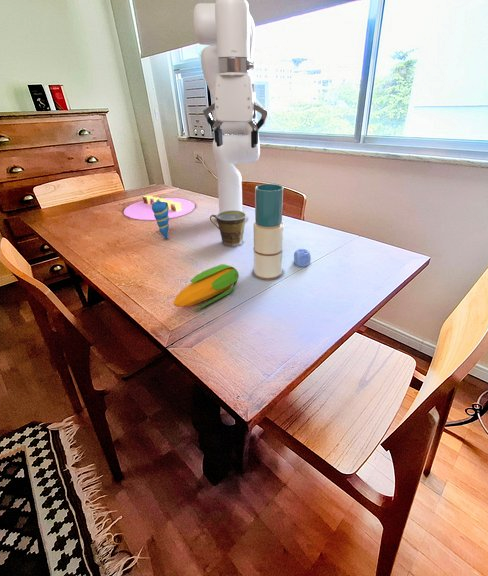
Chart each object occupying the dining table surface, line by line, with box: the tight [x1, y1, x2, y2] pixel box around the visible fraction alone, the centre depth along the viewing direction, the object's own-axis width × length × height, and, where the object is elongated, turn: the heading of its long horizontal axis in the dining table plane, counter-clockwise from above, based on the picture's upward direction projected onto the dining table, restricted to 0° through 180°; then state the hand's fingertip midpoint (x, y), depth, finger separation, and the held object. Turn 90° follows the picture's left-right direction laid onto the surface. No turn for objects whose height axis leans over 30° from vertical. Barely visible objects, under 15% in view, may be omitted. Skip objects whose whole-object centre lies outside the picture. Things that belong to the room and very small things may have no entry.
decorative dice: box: [293, 248, 311, 267], centre depth 90 cm, size 4×4×4 cm
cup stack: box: [253, 221, 285, 281], centre depth 83 cm, size 8×8×15 cm
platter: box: [123, 194, 196, 221], centre depth 137 cm, size 32×32×3 cm
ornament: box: [152, 197, 170, 240], centre depth 103 cm, size 5×5×15 cm
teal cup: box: [254, 183, 284, 227], centre depth 76 cm, size 7×7×9 cm
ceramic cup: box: [209, 210, 247, 247], centre depth 102 cm, size 13×10×10 cm
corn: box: [172, 263, 240, 312], centre depth 74 cm, size 7×8×20 cm
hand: (236, 146), depth 81 cm, fingers open, 9 cm apart
